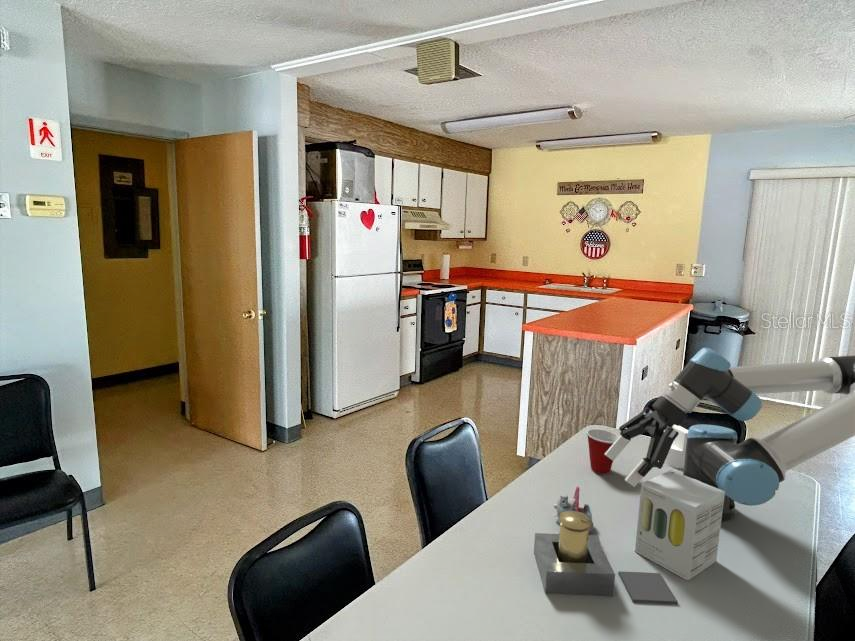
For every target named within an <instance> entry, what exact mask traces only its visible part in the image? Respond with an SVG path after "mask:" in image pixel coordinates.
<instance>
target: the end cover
mask: <svg viewBox="0 0 855 641" xmlns="http://www.w3.org/2000/svg"><path fill="white" fill-rule="evenodd" d="M558 521H559V522H560V526H559V534H560V536H559V550H558V561H559V562H565V563H586V560H587V548H588V536H589V534H590V533H589V529H590V527H591V519H590V518H589V517H588V516H587V515H585V514H583V513H581V512H577V511H564V512H562V513H561V514H560V517H559V518H558Z"/></svg>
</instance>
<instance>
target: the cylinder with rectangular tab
mask: <svg viewBox="0 0 855 641" xmlns="http://www.w3.org/2000/svg"><path fill="white" fill-rule="evenodd" d="M672 428H673V429H674V430H676V431H677V432H678V433H679V434H678V436H677V437H676V438H675V440H674V441H673V444H672V446H671V448H670V450H669V453H668V455H667V457H666V460H665V462H664V464H665V465H666V466H668V467H671V468H676V469H683V470H684V462H685V452H686V443H687V435H688V430H689V429H686V428H685V427H683V426H681V425H679V426H677V425H673V427H672ZM664 464H663V465H664Z"/></svg>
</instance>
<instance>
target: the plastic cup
mask: <svg viewBox="0 0 855 641" xmlns="http://www.w3.org/2000/svg"><path fill="white" fill-rule="evenodd" d="M586 436H587V442H588V453H589V456H588V457H589V463H590V468H591V471H593V472H595V473H596V474H601V475H606V474H610V471H611V470H612V466H613V462H614V461H613V460H611V459H610V458H609V457H607V456H606V455H605V453H606V452H607V450H608V449H609V448H610V447H611V446H612V444H613V443H614V442H615V441H616V439H617V438H618V437H619V436H620V434H617V433H615V432H612V431H610V430H609V431H608V430H606V429H600V428H590V429H587V430H586Z"/></svg>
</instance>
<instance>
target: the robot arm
mask: <svg viewBox="0 0 855 641" xmlns="http://www.w3.org/2000/svg"><path fill="white" fill-rule="evenodd" d="M731 365H732V364H731V362H730V361H729V360H728V359H726V358H725V357H724V356H723V355H721V354H719V353H718V352H717V351H716V350H713V349H711V348H709V347H702V348H701V349H699V351H697V352H696V354H695V355H694V356H693V357H692V358H690V359H689V361H688V362H687V364H686V365H685V366H684V367H683V368H682V370H681V371H680V372H679V374H678V375H677V376H676V377H675V378H674V380H672V382H671V383H669V384H668V387H667V388H666V389H664V391H663V394H664V396H663V395H659V396H658V397H657V399H656V400H655V401H654V402H653V404H652V405H651V406H652V408H653V410H652V409H650V407H648V406H647V407H645V408H644V409H643V410H642V411H641V412H640V413H638V414H636V415H635V416H633V417H632V418H630V419H629V420H628V421H626V422H625V423H623V424H622V425H621V426H619V427H618V430H619V431H620V433H619V437H618V438H617V439H616V441H615V442H614V443H613V444H612V446H611V447H610V448H609V449H608V450H607V452H606V453H605V455H606V456H607V457H609V458H610V459H611V460H613V462H614V461H615V459H616V458H617V457H618V456H619V455H620V454H621V453H622V451H623V450H624V449H625V448H626V447H627V446H628V444H629V443H630V442H631V440H632V439H633V438H635V437H638V436H640V435H643V434H645V433H649V436H650V440H649V441H650V442H649V444H648V447H647V448H648V449H647V451H646V457H642V459H641V460H640V461H639V462H638V463H637V465H636V466H635V467H634V468H633V469H632V470H631V472H630V473H629V474H628V475H627V476H626V477H625V478H624V481H625V482H627V483H628V484H629V485H631V486H632V487H634V488H635V487H636V486H637V485H638V484H639V483H640V481H641V480H643V478H644V477H645V476H647V475H648V473H649V472H650V471H651V470H652V469H653V468H657V469H659V470H661V469H662V468H663V466H664V462H665V460H666V457H667V455H668V453H669V450H670V448H671V446H672V444H673V441H674V440H675V438H676V437H677V436H678V434H679V433H678V432H677V431H676V430H674V429H673V428H672V427H673V425H677V426H681V424H682V423H683V422H684V421H685V420H686V418H687V417H688V414H687V413H689V414H690V413H692V412H693V411H694V410H695V408H696V407H697V406H698V405H699V404H700V403H701V401H703V399H706V400H708V401H709V402H710V403H712V404H714V405H715V406H717V407H718V408H720V409H722V410H723V411H724V412H726V413H727V414H728V415H729V416H730V417H733V418H734V419H736V420H737V421H739V422H747V421H749V420H752V419H753V418H754V417H756V416H757V415H758V413H760V412H761V409H762V406H763V403H762V399H761V397H759V395H760V394H761V395H762V394H777V393H778V394H779V393H780V394H781V393H797V392H799V393H801V392H814V391H818V392H819V391H823V392H824V393H826V394H827V395H829V394H831V395H833V394H842V395H843V396H842V397H840V398H837V399H835V400H833V401H832V402H830V403H828V404H826V405H824V406H823V407H821V408H818V409H817V410H815V411H813V412H811V413H808V415H806V416H803V417H801V418H799V419H798V420H796V421H793V422H792V423H790V424H788V425H787V426H785V427H782V428H781V429H779V430H776V431H775V432H773V433H771V434H769V435H767V436H765V437H764V438H762V439H759V438H756V437H749V438H747V439H745V440H743V441H741V442H740V443H737V441H738V433H737V431H736V430H734V429H732V428H729V427H725V426H720V425H716V424H715V425H714V424H693V425H691V426H690V427H689V428H688V429H687V430H688V435H687V443H686V452H685V462H684V468H683V471H682V475H685V476H687V477H690V478H692V479H696V480H698V481H700V482H702V483H705V484H707V485H710V486H713V487H715V488H718V489H720V490H723V491H725V497H724V504H723V511H722V519H721V522H723V521H728V520H732V519H733V517H735V514H736V504H740V505H744V506H750V507H752V506H753V507H754V506H760V505H763V504H766V503H767V502H769V501H770V500H772V499H773V498H774V497H775V496H776V494H777V493H776V491H778V490H779V488H780V483H782V482H784V481H785V479H786V473H787V471H789V470H791V469H793V468H795V467H797V466H799V465H801V464H803V463H805V462H806V461H809V460H811V459H812V458H815V457H816V456H818V455H820V454H822V453H824V452H826V451H827V450H829V449H832V448H833V447H836V446H838V445H840V444H842V443H844V442H845V441H848V440H849V439H851V438H853V437H855V355H840V356H825V357H821V358H820V359H819V360H817V361H809V362H808V361H807V362H793V363H792V362H791V363H788V362H787V363H778V364H777V363H772V364H760V365H758V364H757V365H756V364H755V365H743V366H731ZM735 502H736V504H735Z"/></svg>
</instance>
